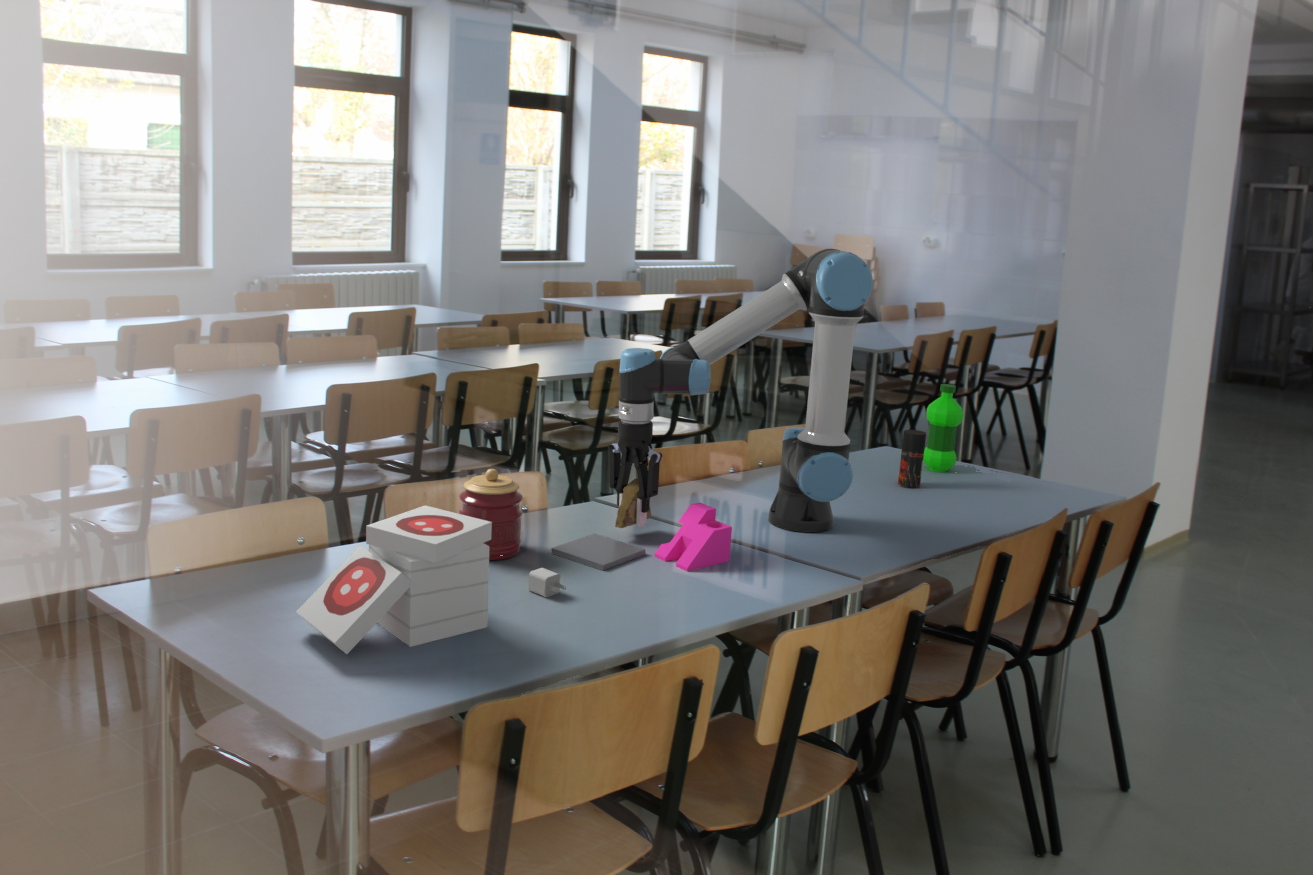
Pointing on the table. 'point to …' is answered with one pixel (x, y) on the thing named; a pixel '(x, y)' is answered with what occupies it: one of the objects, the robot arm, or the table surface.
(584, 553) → the slate board
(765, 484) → the table surface
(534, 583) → the usb wall charger
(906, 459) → the deodorant
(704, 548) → the bracket
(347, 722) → the table surface
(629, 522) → the rock
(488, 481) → the canister
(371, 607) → the pizza boxes
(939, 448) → the plastic bottle
